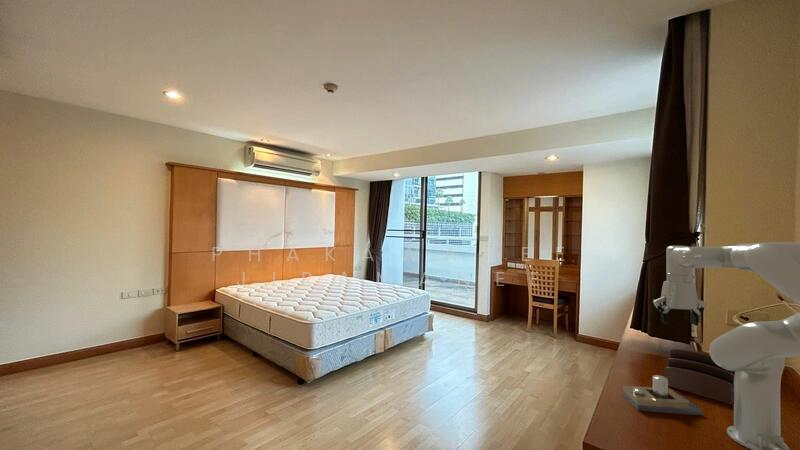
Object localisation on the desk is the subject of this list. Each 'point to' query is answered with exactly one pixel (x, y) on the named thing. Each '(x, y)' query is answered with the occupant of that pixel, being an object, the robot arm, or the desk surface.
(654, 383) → the steel pin
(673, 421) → the desk surface
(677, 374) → the letter holder
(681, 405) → the square hole plate
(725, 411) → the desk surface
